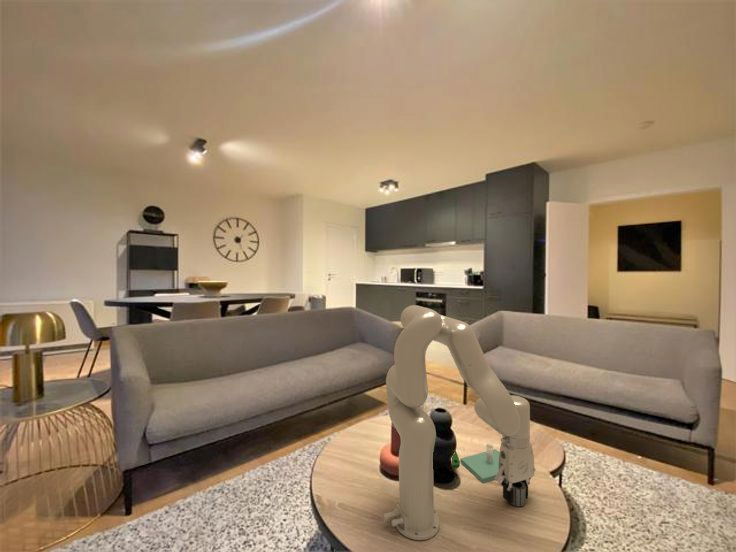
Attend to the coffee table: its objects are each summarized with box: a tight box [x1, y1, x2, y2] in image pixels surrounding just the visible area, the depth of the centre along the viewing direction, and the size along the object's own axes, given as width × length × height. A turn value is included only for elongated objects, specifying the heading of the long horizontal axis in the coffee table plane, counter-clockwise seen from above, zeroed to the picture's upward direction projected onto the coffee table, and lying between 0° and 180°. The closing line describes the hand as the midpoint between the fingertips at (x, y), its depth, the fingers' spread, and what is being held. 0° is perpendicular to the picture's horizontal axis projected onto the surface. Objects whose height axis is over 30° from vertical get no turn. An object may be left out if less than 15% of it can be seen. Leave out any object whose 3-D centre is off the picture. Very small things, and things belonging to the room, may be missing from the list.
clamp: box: [452, 450, 461, 470], centre depth 110 cm, size 12×6×9 cm, turn 85°
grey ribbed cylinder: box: [506, 480, 527, 507], centre depth 96 cm, size 5×5×5 cm
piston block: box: [459, 442, 500, 484], centre depth 112 cm, size 16×12×8 cm
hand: (515, 497), depth 96 cm, fingers closed on grey ribbed cylinder, 5 cm apart
